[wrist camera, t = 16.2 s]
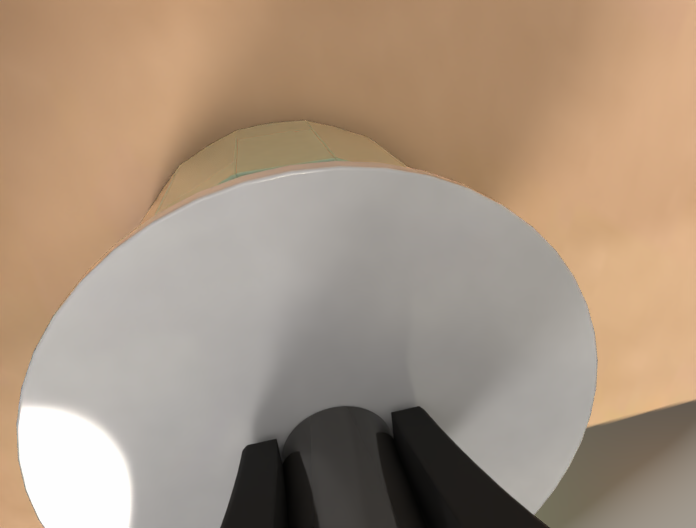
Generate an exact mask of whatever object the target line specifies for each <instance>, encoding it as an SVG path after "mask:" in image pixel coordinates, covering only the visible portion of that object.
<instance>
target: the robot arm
mask: <svg viewBox="0 0 696 528" xmlns="http://www.w3.org/2000/svg"><path fill="white" fill-rule="evenodd" d="M391 417H392V427H393V437H394V441H395V444H396V447H397V449H398V452H399V455H400V457H401V460H402V462H403V465H404V468H405V470H406V473H407V476H408V478H409V481H410V483H411V486H412V489H413V491H414V494H415V496H416V499H417V502H418V504H419V507H420V510H421V512H422V515H423V517H424V520H425V523H426V525H427V528H549V527H548V526H547V525H546V524H544V523H543V522H542V521H541V520H539V519H538V518H537V517H536V516H534V515H533V514H532V513H531V512H530V511H528V510H527V509H526V508H525V507H524V506H523V505H521V504H520V503H519V502H518V501H517V500H515V499H514V498H513V497H512V496H511V495H510V494H508V493H507V492H506V491H505V490H504V489H503V488H502V487H501V486H499V485H498V484H497V483H496V482H495V481H494V480H493V479H492V478H491V477H490V476H489V475H488V474H486V473H485V472H484V471H483V470H482V469H481V468H480V467H479V466H478V465H477V464H476V463H475V462H474V461H473V460H472V459H471V458H470V457H469V456H468V455H467V454H465V453H464V452H463V451H462V450H461V448H460V447H459V446H458V445H457V444H456V443H455V442H454V441H453V440H452V439H451V438H450V437H449V436H448V435H447V434H446V433H445V432H444V431H443V430H442V429H441V428H440V427H439V425H438V424H437V423H436V422H435V421H434V420H433V419H432V418H431V417H430V415H429V414H428V413H427V412H426V411H425V410H424V409H423V408H421V407H420V406H417V407H412V408H408V409H404V410H399V411H395V412H391ZM220 528H288V522H287V505H286V494H285V484H284V474H283V464H282V460H281V455H280V451H279V447H278V442H277V439H272V440H268V441H263V442H259V443H255V444H250V445H247V446H246V447H245V448H244V449H243V450H242V454H241V459H240V464H239V468H238V472H237V476H236V480H235V483H234V487H233V490H232V494H231V497H230V500H229V503H228V507H227V510H226V513H225V515H224V518H223V521H222V524H221V527H220Z"/></svg>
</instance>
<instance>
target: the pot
mask: <svg viewBox="0 0 696 528" xmlns="http://www.w3.org/2000/svg"><path fill="white" fill-rule="evenodd" d="M328 161H353V162H378V163H386V164H391V165H397V166H403V167H407V166H406V165H405V164H403V163H402V162H401V161H399V160H398V159H397V158H395V157H394V156H393V155H391V154H390V153H389V152H387V151H386V150H385V149H384V148H382V147H381V146H380V145H378V144H377V143H376V142H374V141H373V140H372V139H370V138H368V137H366V136H364V135H360V134H356V133H353V132H350V131H347V130H344V129H341V128H338V127H335V126H330V125H325V124H320V123H315V122H311V121H308V120H306V121H305V120H299V121H287V122H274V123H267V124H263V125H258V126H253V127H249V128H244V129H238V130H237V131H234V132H232V133H231V134H229V135H227V136H225V137H223V138H221V139H219V140H218V141H216V142H214V143H212V144H210V145H208V146H207V147H205V148H204V149H203V150H201V151H200V152H198V153H197V154H196V155H194V156H193V157H191V158H190V159H189V160H187V161H185V162H184V163H182V164H181V165H180V166H179V167H178V168H177V169H176V170H175V172H174V173H173V175H172V176H171V178H170V179H169V181H168V182H167V184H166V185H165V187H164V188H163V189H162V191H161V193H160V194H159V196H158V197H157V199H156V200H155V202H154V203H153V205H152V206H151V208H150V209H149V211H148V212H147V214H146V215H145V217H144V218H143V220H142V222H141V224H140V225H142V224H143V223H145V222H146V221H147V220H149V219H150V218H152V217H153V216H154V215H156V214H158V213H159V212H161V211H163V210H165V209H167V208H169V207H171V206H173V205H175V204H177V203H178V202H180V201H182V200H184V199H186V198H188V197H190V196H192V195H194V194H196V193H197V192H200V191H203V190H205V189H208V188H211V187H214V186H216V185H219V184H222V183H224V182H227V181H230V180H233V179H235V178H238V177H241V176H244V175H248V174H252V173H257V172H261V171H266V170H270V169H275V168H279V167H283V166H288V165H296V164H307V163H318V162H328ZM408 168H409V167H408Z"/></svg>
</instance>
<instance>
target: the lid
mask: <svg viewBox="0 0 696 528" xmlns="http://www.w3.org/2000/svg"><path fill="white" fill-rule="evenodd" d="M597 361H598V360H597V351H596V341H595V332H594V328H593V325H592V321H591V317H590V314H589V310H588V306H587V303H586V301H585V299H584V297H583V295H582V292H581V290H580V288H579V286H578V284H577V282H576V280H575V277H574V276H573V274H572V273H571V271H570V270H569V268H568V267H567V265H566V264H565V263H564V261H563V260H562V258H561V257H560V255H559V254H558V253H557V251H556V250H555V249H554V248H553V247H552V246H551V245H550V244H549V243H548V242H547V241H546V240H545V239H544V238H543V237H542V236H541V235H540V234H539V233H538V232H537V231H536V230H535V229H534V228H533V227H532V226H531V225H530V224H528V223H527V222H526V221H524V220H523V219H521V218H520V217H519V216H517V215H516V214H515V213H513V212H512V211H510V210H509V209H508V208H506V207H505V206H503V205H502V204H500V203H499V202H497V201H496V200H494V199H492V198H490V197H488V196H486V195H484V194H482V193H480V192H478V191H476V190H474V189H472V188H470V187H468V186H466V185H464V184H462V183H460V182H457V181H454V180H451V179H448V178H445V177H442V176H439V175H436V174H433V173H430V172H427V171H424V170H419V169H414V168H408V167H403V166H397V165H391V164H386V163H378V162H353V161H328V162H318V163H307V164H296V165H288V166H283V167H279V168H275V169H270V170H266V171H261V172H257V173H252V174H248V175H244V176H241V177H238V178H235V179H233V180H230V181H227V182H224V183H222V184H219V185H216V186H214V187H211V188H208V189H205V190H203V191H200V192H197V193H196V194H194V195H192V196H190V197H188V198H186V199H184V200H182V201H180V202H178V203H177V204H175V205H173V206H171V207H169V208H167V209H165V210H163V211H161V212H159V213H158V214H156V215H154V216H153V217H152V218H150V219H149V220H147V221H146V222H145V223H143V224H142V225H140V226H139V227H138V228H136V229H135V230H133V231H132V232H131V233H129V234H128V235H126V236H125V237H123V238H122V239H121V240H119V241H118V242H117V243H116V244H115V245H114V246H113V247H112V248H111V249H110V250H109V251H108V252H106V253H105V254H104V255H103V256H102V257H101V258H100V259H99V260H98V261H97V262H96V263H95V264H94V265H93V266H92V267H91V268H90V269H89V270H88V271H87V272H86V273H85V274H84V275H83V277H82V278H81V279H80V281H79V282H78V283H77V284H76V286H75V287H74V288H73V290H72V291H71V292H70V294H69V295H68V296H67V297H66V299H65V300H64V301H63V303H62V304H61V305H60V307H59V308H58V310H57V311H56V312H55V314H54V315H53V317H52V319H51V321H50V323H49V325H48V326H47V328H46V330H45V332H44V334H43V336H42V337H41V339H40V341H39V343H38V345H37V347H36V348H35V350H34V352H33V355H32V358H31V361H30V364H29V367H28V370H27V373H26V376H25V379H24V382H23V385H22V388H21V395H20V402H19V409H18V416H17V423H16V426H17V448H18V461H19V465H20V469H21V473H22V478H23V482H24V486H25V490H26V493H27V495H28V497H29V499H30V502H31V504H32V506H33V508H34V510H35V513H36V515H37V517H38V519H39V521H40V522H41V524H42V525H43V527H44V528H220V527H221V524H222V521H223V518H224V515H225V513H226V510H227V507H228V503H229V500H230V497H231V494H232V490H233V487H234V483H235V480H236V476H237V472H238V468H239V464H240V459H241V454H242V450H243V449H244V448H245V447H246V446H247V445H250V444H255V443H259V442H263V441H268V440H272V439H277V442H278V447H279V451H280V455H281V460H282V464H283V474H284V484H285V494H286V505H287V522H288V528H427V525H426V523H425V520H424V517H423V515H422V512H421V510H420V507H419V504H418V502H417V499H416V496H415V494H414V491H413V489H412V486H411V483H410V481H409V478H408V476H407V473H406V470H405V468H404V465H403V462H402V460H401V457H400V455H399V452H398V449H397V447H396V444H395V441H394V437H393V427H392V417H391V412H395V411H399V410H404V409H408V408H412V407H417V406H420V407H421V408H423V409H424V410H425V411H426V412H427V413H428V414H429V415H430V417H431V418H432V419H433V420H434V421H435V422H436V423H437V424H438V425H439V427H440V428H441V429H442V430H443V431H444V432H445V433H446V434H447V435H448V436H449V437H450V438H451V439H452V440H453V441H454V442H455V443H456V444H457V445H458V446H459V447H460V448H461V450H462V451H463V452H464V453H465V454H467V455H468V456H469V457H470V458H471V459H472V460H473V461H474V462H475V463H476V464H477V465H478V466H479V467H480V468H481V469H482V470H483V471H484V472H485V473H486V474H488V475H489V476H490V477H491V478H492V479H493V480H494V481H495V482H496V483H497V484H498V485H499V486H501V487H502V488H503V489H504V490H505V491H506V492H507V493H508V494H510V495H511V496H512V497H513V498H514V499H515V500H517V501H518V502H519V503H520V504H521V505H523V506H524V507H525V508H526V509H527V510H528V511H530V512H531V513H532V514H533V515H534V514H535V513H536V512H537V511H538V510H539V509H540V507H541V506H542V505H543V504H544V502H545V501H546V500H547V499H548V497H549V496H550V495H551V493H552V492H553V491H554V490H555V488H556V487H557V485H558V483H559V482H560V480H561V479H562V477H563V476H564V474H565V472H566V471H567V469H568V468H569V466H570V464H571V462H572V460H573V458H574V456H575V454H576V452H577V450H578V447H579V446H580V443H581V441H582V439H583V436H584V433H585V430H586V427H587V424H588V421H589V418H590V415H591V411H592V406H593V401H594V396H595V391H596V379H597Z"/></svg>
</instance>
